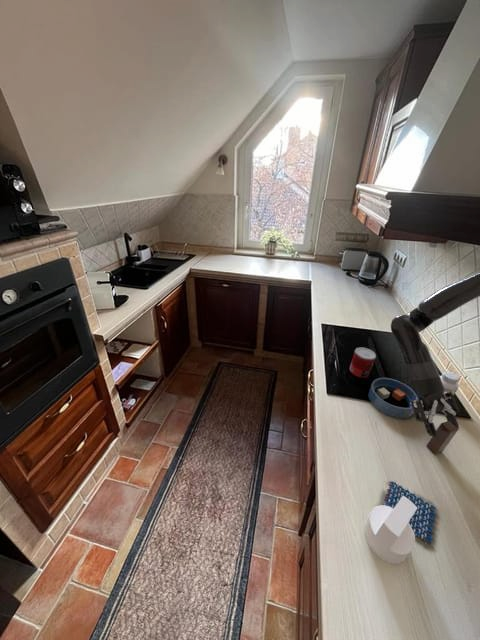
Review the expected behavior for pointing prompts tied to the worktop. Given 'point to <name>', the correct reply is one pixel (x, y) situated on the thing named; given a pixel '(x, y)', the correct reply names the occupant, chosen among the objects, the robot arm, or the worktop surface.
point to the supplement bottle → (449, 381)
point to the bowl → (386, 407)
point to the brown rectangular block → (442, 437)
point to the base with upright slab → (391, 531)
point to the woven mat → (424, 512)
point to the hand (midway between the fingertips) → (444, 432)
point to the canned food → (362, 362)
